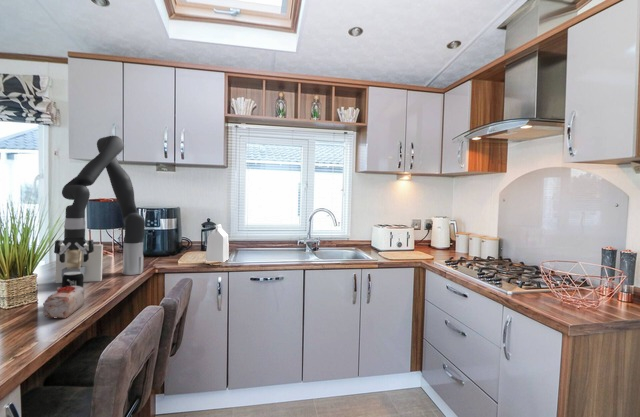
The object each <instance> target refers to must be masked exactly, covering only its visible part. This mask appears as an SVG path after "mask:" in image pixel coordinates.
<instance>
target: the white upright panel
mask: <svg viewBox="0 0 640 417" xmlns="http://www.w3.org/2000/svg"><path fill="white" fill-rule="evenodd" d="M84 246H85V247H86V249H87V250H88V251H89V245H87V244H84ZM64 247H65V245H64V244H61V245H60V251H61V250H62V249H63V248H64ZM93 247H94V251H93V252H91V253H89V259H88V260H87V262H84V253H83V252H82V251H81V268H79V269H67V251H66V252H65V253H64V254H65V262H64V263H61V261H59V258H60V255H59V254H57V253H55V257H56V258H55V282H54V283H55V284H60V283H61V284H62V277H63V276H64V273H66V272H71V271H82V274H83V275H84V280H83V283H85V282H88V283H91V282H101V281H103V257H104V256H103V254H104V252H103V251H104V244H93ZM68 250H69V249H68Z"/></svg>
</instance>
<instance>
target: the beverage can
mask: <svg viewBox="0 0 640 417" xmlns="http://www.w3.org/2000/svg"><path fill="white" fill-rule="evenodd" d="M83 280H84V275H83V274H82V271H71V272H66V273H64V276H63V277H62V283H61V288H63V287H67V286H81V287H83V288H84V282H83Z"/></svg>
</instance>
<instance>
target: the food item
mask: <svg viewBox="0 0 640 417" xmlns="http://www.w3.org/2000/svg"><path fill="white" fill-rule="evenodd" d="M56 291H57V292H56V293H54V294H53V293H52V294H51V295H49V296H48V297H47V298H46V300H44V302H43V304H42V305H43V309H42V312H43V313H42V314H43V316H44V318H46V317H47V319H55V318H54V317H57V318H56V319H67V318H68V317H70V316H71V315H72V314H74V313H75V312H76V311H77V310H79V309H80V308H81V307H83V306H84V305H85V288H84V286H83V287H81V286H67V287H63V288H62V287H60V286H57V288H56ZM66 317H67V318H66Z"/></svg>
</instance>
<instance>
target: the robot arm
mask: <svg viewBox="0 0 640 417" xmlns="http://www.w3.org/2000/svg"><path fill="white" fill-rule="evenodd" d="M96 147H97V151H98V154H97V155H96V156H95V157H93V158H92V159H91V160H90V161H89V162H87V164H85V165H84V166H83V167H82V169H81V170H80V172H79V173H78V174H77V176H75V177H74V178H72V179H71V180H69V181H68V182H67V183H66V184H65V185H64V186H63V187H62V189H61V195H62V197H63V198H64V199H65V200H69V201H73V202H72V204H70V205H67V206H66V208H65V219H64V225H63V227H64V231H63V233H64V234H63V238H64V239H63V240H61V239H57V240H55V241H54V250H53V252H54V254H56V253H57V254H59V255H60V258H59V261H61V263H64V262H65V254H64V253H65V252H66V251H67V250H68V249H69V250H72V249H80V250H81V251H82V252H83V253H84V262H87V260H88V259H89V253H91V252H93V251H94V247H93V245H94V239H87V240H86V218H85V217H86V208H87V206H88V203H89V199H90V196H91V194H90V193H91V192H90V189H89V188H88V187H90V186H92V185H94V183H95V182H96V181H97V180H98V178H99V176H100V175H101V174H102V173H103V171H104V170H105V169H106V172H107V175H108V178H109V181H110V185H111V188H112V190H113V191H112V192H113V193H114V196H115V199H116V201H117V204H118V205H119V208H120V211H121V215H122V216H121V217H122V223H123V225H124V237H123V245H122V246H123V250H122V253H123V254H122V274H123V275H125V276H130V275H131V276H133V275H141V274H142V273H143V272H144V237H145V231H146V230H145V228H146V222H145V218H144V217H143V215H140V213H139V210H138V209H137V206H136V202H135V191H134V186H133V182H132V179H131V176H130V175H129V174H128V173H127V171H125V169H124V168H123V167H122V166H121V164H120V163H119V161H118V157H117V156H118V155H119V154H120V153H121V152H123V150H124V148H125V144H124V141H123V139H122V138H121V137H119V136H117V135H108V136H104V137H100V138H99V139H97V141H96ZM60 245H65V247H64V248H63V249H62V250H61V251H60ZM84 245H89V251H88V250H87V249H86V247H85V246H84Z"/></svg>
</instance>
